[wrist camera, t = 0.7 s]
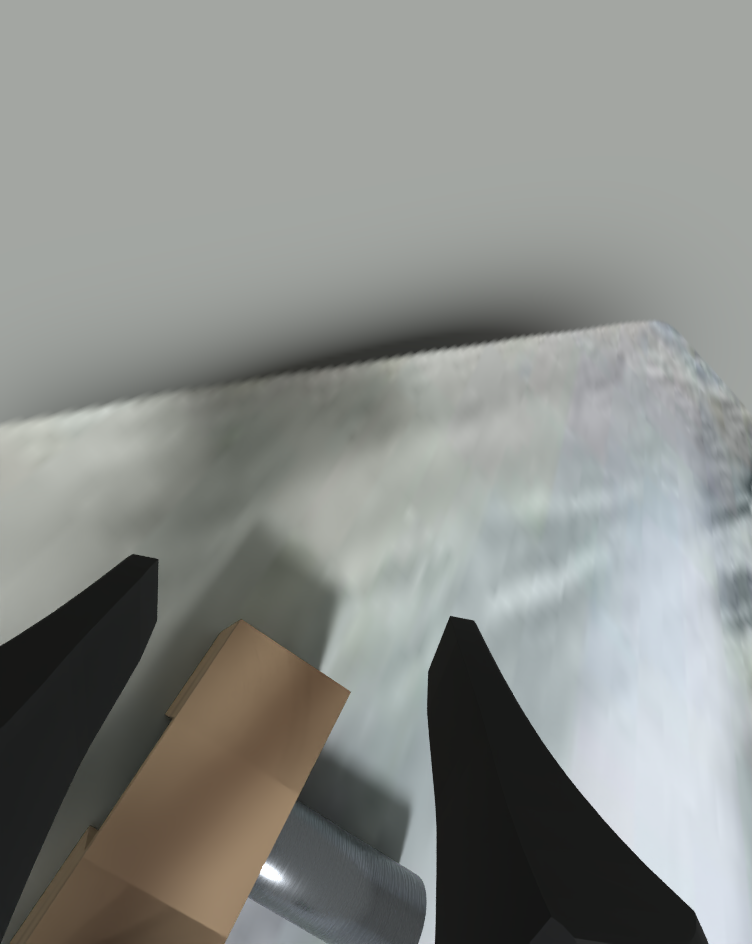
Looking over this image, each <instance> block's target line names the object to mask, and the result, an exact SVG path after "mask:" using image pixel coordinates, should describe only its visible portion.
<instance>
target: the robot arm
mask: <svg viewBox="0 0 752 944" xmlns="http://www.w3.org/2000/svg"><path fill="white" fill-rule="evenodd" d="M157 601H158V559H156V558H150V557H145V556H140V555H135V554H132V555H130V556H129V557H127V558H126V559H125V560H123V561H122V562H121V563H119V564H118V565H117V566H116V567H114V568H113V569H112V570H110V571H109V572H108V573H106V574H105V575H104V576H102V577H101V578H100V579H99V580H97V581H96V582H95V583H93V584H92V585H91V586H89V587H88V588H87V589H85V590H84V591H82V592H81V593H80V594H78V595H77V596H75V597H74V598H73V599H71V600H70V601H68V602H67V603H66V604H64V605H63V606H61V607H60V608H59V609H57V610H56V611H54V612H53V613H51V614H50V615H48V616H47V617H45V618H44V619H42V620H41V621H39V622H38V623H36V624H35V625H33V626H32V627H30V628H28V629H27V630H25V631H24V632H22V633H21V634H19V635H18V636H16V637H14V638H13V639H11V640H10V641H8V642H6V643H5V644H3V645H1V646H0V944H1V941H2V939H3V936H4V934H5V931H6V929H7V927H8V924H9V922H10V919H11V917H12V914H13V912H14V910H15V907H16V905H17V903H18V900H19V898H20V896H21V893H22V891H23V889H24V886H25V884H26V882H27V879H28V877H29V875H30V872H31V870H32V868H33V865H34V863H35V861H36V858H37V856H38V854H39V852H40V850H41V847H42V845H43V843H44V841H45V838H46V836H47V834H48V832H49V830H50V827H51V825H52V823H53V821H54V818H55V816H56V814H57V812H58V810H59V808H60V805H61V803H62V801H63V799H64V797H65V795H66V793H67V790H68V788H69V786H70V784H71V782H72V780H73V778H74V776H75V773H76V771H77V769H78V767H79V765H80V763H81V761H82V760H83V758H84V756H85V754H86V752H87V750H88V748H89V746H90V745H91V743H92V741H93V740H94V738H95V736H96V735H97V733H98V731H99V729H100V728H101V726H102V724H103V723H104V721H105V719H106V718H107V716H108V714H109V712H110V711H111V709H112V707H113V706H114V704H115V702H116V700H117V699H118V697H119V695H120V694H121V692H122V690H123V689H124V687H125V685H126V683H127V682H128V680H129V678H130V676H131V675H132V673H133V671H134V669H135V668H136V666H137V664H138V662H139V661H140V659H141V656H142V654H143V652H144V650H145V648H146V645H147V643H148V641H149V638H150V636H151V634H152V631H153V629H154V627H155V624H156V622H157ZM427 716H428V728H429V740H430V751H431V762H432V773H433V784H434V795H435V806H436V825H437V875H436V930H435V944H708V941H707V938H706V936H705V934H704V932H703V929H702V927H701V925H700V923H699V921H698V918H697V916H696V914H695V912H694V911H693V910H692V909H691V908H690V907H689V906H688V905H687V904H686V903H685V902H684V901H683V900H682V899H681V898H680V897H679V896H678V895H677V894H676V893H675V892H673V891H672V890H671V889H670V888H669V887H668V886H667V885H666V884H665V883H664V882H663V881H662V880H661V879H660V878H659V877H658V876H657V875H656V874H655V873H654V872H652V871H651V870H650V869H649V868H648V867H647V866H646V865H645V864H644V863H643V862H642V861H641V860H640V859H639V857H638V856H637V855H636V854H635V853H634V852H633V851H632V850H631V849H630V848H629V847H628V846H627V845H626V844H625V843H624V842H623V841H622V840H621V839H620V838H619V836H618V835H617V834H616V833H615V832H614V831H613V830H612V829H611V828H610V826H609V825H608V824H607V823H606V822H605V821H604V820H603V819H602V817H601V816H600V815H599V814H598V813H597V812H596V810H595V809H594V808H593V807H592V806H591V804H590V803H589V802H588V801H587V800H586V799H585V797H584V796H583V795H582V794H581V793H580V791H579V790H578V789H577V788H576V786H575V785H574V784H573V783H572V781H571V780H570V779H569V778H568V776H567V775H566V774H565V772H564V771H563V770H562V768H561V767H560V766H559V764H558V763H557V761H556V760H555V759H554V757H553V756H552V755H551V753H550V752H549V750H548V749H547V748H546V746H545V745H544V743H543V742H542V740H541V739H540V737H539V736H538V734H537V733H536V731H535V729H534V728H533V726H532V725H531V723H530V722H529V720H528V718H527V717H526V715H525V714H524V712H523V710H522V709H521V707H520V705H519V704H518V702H517V700H516V698H515V697H514V695H513V693H512V691H511V690H510V688H509V686H508V684H507V683H506V681H505V679H504V677H503V675H502V674H501V672H500V670H499V668H498V666H497V664H496V662H495V660H494V658H493V657H492V655H491V653H490V651H489V649H488V647H487V645H486V643H485V641H484V639H483V637H482V635H481V633H480V631H479V629H478V627H477V625H476V623H475V622H474V621H473V620H468V619H463V618H458V617H453V616H450V618H449V620H448V623H447V625H446V628H445V630H444V633H443V635H442V638H441V640H440V643H439V645H438V648H437V651H436V653H435V656H434V658H433V661H432V663H431V666H430V668H429V671H428V696H427Z"/></svg>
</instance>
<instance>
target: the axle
mask: <svg viewBox="0 0 752 944" xmlns="http://www.w3.org/2000/svg"><path fill="white" fill-rule="evenodd" d="M248 897H249V898H250V899H252V900H254V901H255V902H257V903H259V904H261V905H262V906H264V907H266V908H267V909H269V910H271V911H273V912H274V913H276V914H278V915H280V916H281V917H283V918H285V919H286V920H288V921H290V922H292V923H293V924H295V925H297V926H298V927H300V928H302V929H304V930H305V931H307V932H309V933H311V934H312V935H314V936H316V937H317V938H319V939H321V940H323V941H324V942H326V943H328V944H418V942H419V939H420V936H421V933H422V930H423V925H424V921H425V915H426V891H425V886H424V883H423V881H422V879H421V878H420V877H419V876H418V875H417V874H415V873H413V872H412V871H410V870H408V869H407V868H405V867H404V866H402V865H400V864H399V863H397V862H396V861H394V860H392V859H391V858H389V857H387V856H386V855H384V854H383V853H381V852H379V851H378V850H376V849H375V848H373V847H371V846H370V845H368V844H366V843H365V842H363V841H362V840H360V839H358V838H357V837H355V836H354V835H352V834H350V833H349V832H347V831H346V830H344V829H342V828H341V827H339V826H337V825H336V824H334V823H333V822H331V821H329V820H328V819H326V818H325V817H323V816H321V815H320V814H318V813H316V812H315V811H313V810H312V809H310V808H308V807H307V806H305V805H304V804H302V803H300V802H299V801H297V800H296V802H295V804H294V806H293V808H292V810H291V812H290V814H289V816H288V818H287V820H286V822H285V824H284V826H283V828H282V830H281V832H280V834H279V836H278V838H277V840H276V842H275V844H274V846H273V848H272V850H271V852H270V854H269V856H268V858H267V860H266V862H265V864H264V866H263V868H262V870H261V872H260V874H259V876H258V878H257V880H256V882H255V884H254V886H253V888H252V890H251V892H250V894H249V896H248Z"/></svg>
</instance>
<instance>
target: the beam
mask: <svg viewBox="0 0 752 944" xmlns="http://www.w3.org/2000/svg"><path fill="white" fill-rule="evenodd" d="M350 693H351V692H350V691H349V690H347V689H346V688H344V687H343V686H341V685H340V684H338V683H337V682H335V681H334V680H332V679H331V678H329V677H328V676H326V675H325V674H323V673H322V672H320V671H319V670H317V669H316V668H314V667H313V666H311V665H310V664H308V663H307V662H305V661H304V660H302V659H301V658H299V657H298V656H296V655H295V654H293V653H292V652H290V651H289V650H287V649H285V648H284V647H282V646H281V645H279V644H278V643H276V642H275V641H273V640H272V639H270V638H269V637H267V636H266V635H264V634H263V633H261V632H260V631H258V630H257V629H255V628H254V627H252V626H251V625H249V624H248V623H246V622H245V621H243V620H242V619H241V620H239V621H237V622H236V623H234V624H233V625H231V626H230V627H228V628H226V629H225V630H223V631H222V632H220V634H219V635H218V637H217V638H216V640H215V641H214V643H213V644H212V646H211V647H210V649H209V650H208V652H207V653H206V655H205V656H204V657H203V659H202V660H201V662H200V663H199V665H198V666H197V668H196V669H195V671H194V672H193V674H192V675H191V677H190V678H189V680H188V681H187V683H186V684H185V685H184V687H183V688H182V690H181V691H180V693H179V694H178V696H177V697H176V699H175V700H174V702H173V703H172V705H171V706H170V708H169V709H168V710H167V712H166V713H165V715H167V716H168V717H170V718H171V719H172V721H171V722H170V724H169V725H168V727H167V728H166V730H165V731H164V733H163V734H162V736H161V737H160V739H159V740H158V742H157V743H156V745H155V746H154V748H153V749H152V751H151V752H150V754H149V755H148V757H147V758H146V760H145V761H144V763H143V764H142V766H141V767H140V769H139V770H138V772H137V773H136V775H135V776H134V778H133V779H132V781H131V782H130V784H129V785H128V787H127V788H126V790H125V791H124V793H123V794H122V796H121V797H120V799H119V800H118V802H117V803H116V805H115V806H114V808H113V809H112V811H111V812H110V814H109V815H108V817H107V818H106V820H105V821H104V823H103V824H102V826H101V827H100V829H99V830H97V829H95V828H93V827H92V826H90V825H89V827H88V828H87V830H86V831H85V833H84V834H83V836H82V837H81V839H80V840H79V842H78V843H77V845H76V846H75V847H74V849H73V850H72V852H71V853H70V855H69V856H68V858H67V859H66V861H65V862H64V864H63V865H62V867H61V868H60V870H59V871H58V873H57V874H56V875H55V877H54V878H53V880H52V881H51V883H50V884H49V886H48V887H47V889H46V890H45V892H44V893H43V895H42V896H41V898H40V899H39V901H38V902H37V903H36V905H35V906H34V908H33V909H32V911H31V912H30V914H29V915H28V917H27V918H26V920H25V921H24V923H23V924H22V926H21V927H20V929H19V930H18V931H17V933H16V934H15V936H14V937H13V939H12V940H11V942H10V943H9V944H224V943H225V941H226V939H227V937H228V935H229V933H230V931H231V929H232V928H233V926H234V924H235V922H236V920H237V918H238V916H239V914H240V912H241V910H242V908H243V906H244V904H245V902H246V900H247V898H248V896H249V894H250V892H251V890H252V888H253V886H254V884H255V882H256V880H257V878H258V876H259V874H260V872H261V870H262V868H263V866H264V864H265V862H266V860H267V858H268V856H269V854H270V852H271V850H272V848H273V846H274V844H275V842H276V840H277V838H278V836H279V834H280V832H281V830H282V828H283V826H284V824H285V822H286V820H287V818H288V816H289V814H290V812H291V810H292V808H293V806H294V804H295V802H296V800H297V798H298V796H299V794H300V792H301V790H302V788H303V786H304V784H305V782H306V780H307V778H308V776H309V774H310V772H311V770H312V768H313V766H314V764H315V762H316V760H317V758H318V756H319V754H320V752H321V750H322V748H323V746H324V744H325V742H326V740H327V738H328V736H329V734H330V732H331V730H332V728H333V726H334V724H335V722H336V720H337V719H338V717H339V715H340V713H341V711H342V709H343V707H344V705H345V703H346V701H347V699H348V697H349V695H350Z"/></svg>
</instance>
